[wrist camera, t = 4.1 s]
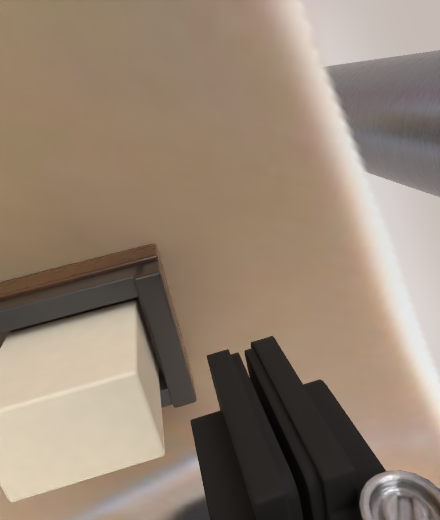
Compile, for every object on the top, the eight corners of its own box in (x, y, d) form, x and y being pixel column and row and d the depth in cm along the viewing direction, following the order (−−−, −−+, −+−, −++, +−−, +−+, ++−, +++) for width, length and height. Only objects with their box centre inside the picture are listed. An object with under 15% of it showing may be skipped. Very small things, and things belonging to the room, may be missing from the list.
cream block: (136, 298, 13) (136, 371, 10) (158, 368, 14) (166, 457, 11) (7, 332, 13) (-41, 421, 9) (40, 402, 14) (9, 505, 10)
